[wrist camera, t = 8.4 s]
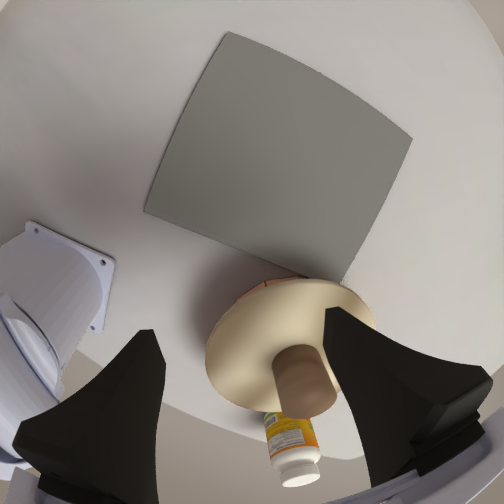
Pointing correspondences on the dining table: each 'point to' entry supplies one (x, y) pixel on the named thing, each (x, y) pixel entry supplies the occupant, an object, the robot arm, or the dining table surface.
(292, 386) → the lid
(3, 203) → the dining table surface
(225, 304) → the dining table surface
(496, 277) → the dining table surface
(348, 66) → the dining table surface
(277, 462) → the supplement bottle
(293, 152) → the mat
